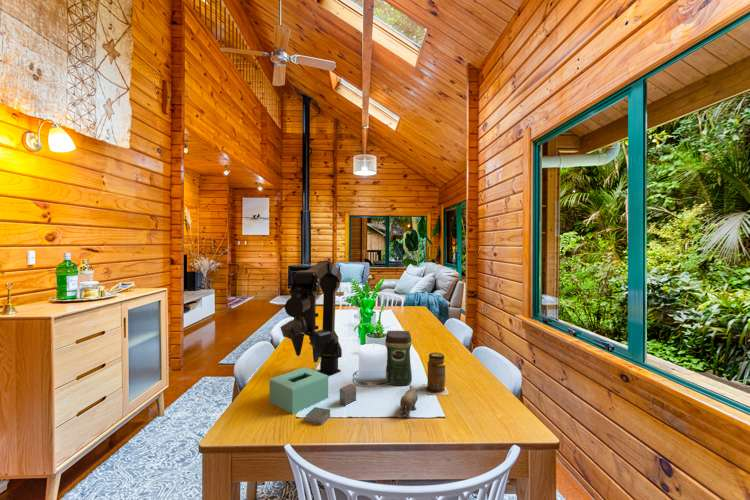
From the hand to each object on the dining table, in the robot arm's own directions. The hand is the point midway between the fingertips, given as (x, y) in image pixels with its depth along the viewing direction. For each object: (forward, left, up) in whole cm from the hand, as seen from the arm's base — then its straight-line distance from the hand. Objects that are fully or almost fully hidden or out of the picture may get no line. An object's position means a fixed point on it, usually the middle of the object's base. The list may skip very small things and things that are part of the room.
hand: (306, 358), depth 113 cm
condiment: (-34, +28, -13) cm, 46 cm away
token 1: (+6, +13, -14) cm, 19 cm away
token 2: (-7, +12, -13) cm, 19 cm away
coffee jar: (-31, +14, -13) cm, 36 cm away
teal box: (+2, -1, -13) cm, 13 cm away
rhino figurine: (-17, +29, -14) cm, 36 cm away
